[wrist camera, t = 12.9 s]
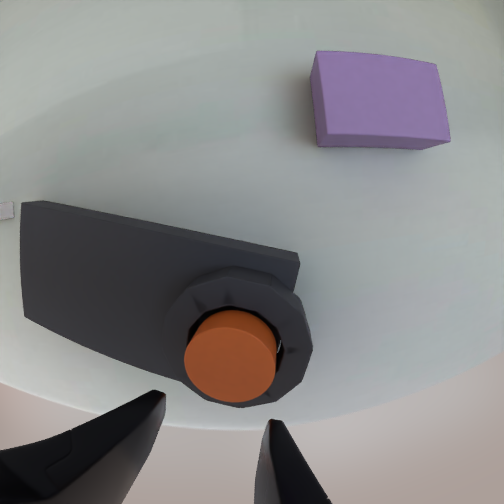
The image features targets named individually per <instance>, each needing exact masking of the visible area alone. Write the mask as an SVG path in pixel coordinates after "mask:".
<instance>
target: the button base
mask: <svg viewBox="0 0 504 504" xmlns="http://www.w3.org/2000/svg"><path fill="white" fill-rule="evenodd" d="M299 267H300V261H299V257H298V253H295V252H290V251H286V250H281V249H276V248H272V247H267V246H263V245H258V244H253V243H248V242H244V241H239V240H234V239H230V238H225V237H220V236H215V235H211V234H206V233H201V232H196V231H191V230H187V229H182V228H177V227H172V226H167V225H162V224H158V223H153V222H148V221H143V220H138V219H133V218H128V217H123V216H118V215H113V214H108V213H103V212H98V211H93V210H88V209H83V208H78V207H73V206H68V205H63V204H58V203H53V202H48V201H33V202H23V203H21V220H20V270H21V287H22V299H23V308H24V316H25V317H26V318H28V319H30V320H31V321H33V322H35V323H37V324H39V325H41V326H43V327H45V328H47V329H49V330H51V331H53V332H55V333H57V334H59V335H61V336H63V337H65V338H67V339H69V340H71V341H73V342H76V343H78V344H80V345H82V346H85V347H87V348H89V349H92V350H94V351H96V352H99V353H101V354H104V355H106V356H108V357H111V358H114V359H116V360H119V361H121V362H124V363H127V364H129V365H132V366H135V367H138V368H140V369H143V370H146V371H149V372H152V373H155V374H158V375H161V376H164V377H168V378H171V379H174V380H177V381H181V382H182V383H183V384H185V385H186V386H187V387H188V388H190V389H191V390H192V391H194V392H195V393H197V394H198V395H199V396H201V397H202V398H203V399H206V400H207V401H211V402H215V403H219V404H223V405H228V406H232V407H236V408H240V407H241V408H245V407H251V406H256V405H262V404H267V403H272V402H276V401H277V400H279V399H280V398H281V397H283V396H284V395H285V394H286V393H288V392H289V391H290V390H292V389H293V388H294V387H295V386H297V385H298V384H299V383H300V382H301V381H302V379H303V377H304V374H305V371H306V368H307V366H308V363H309V360H310V357H311V354H312V351H313V345H312V339H311V334H310V329H309V326H308V322H307V319H306V316H305V312H304V309H303V306H302V302H301V300H300V298H299V297H298V296H297V295H295V294H294V293H293V291H294V287H295V283H296V279H297V275H298V271H299ZM225 310H238V311H244V312H247V313H250V314H252V315H254V316H256V317H258V318H259V319H261V320H262V321H263V322H264V323H265V324H266V325H267V326H268V327H269V328H270V330H271V331H272V333H273V335H274V337H275V341H276V368H275V376H274V379H273V382H272V384H271V385H270V387H269V388H268V389H267V390H266V391H265V392H264V393H263V394H261V395H260V396H258V397H256V398H254V399H252V400H249V401H244V402H226V401H221V400H218V399H215V398H212V397H210V396H208V395H206V394H205V393H203V392H202V391H201V390H199V389H198V388H197V387H196V386H195V385H194V384H193V382H192V381H191V380H190V378H189V376H188V374H187V372H186V369H185V363H184V356H185V351H186V348H187V346H188V344H189V343H190V341H191V339H192V338H193V336H194V334H195V333H196V331H197V330H198V328H199V326H200V325H201V324H202V322H203V321H204V320H205V319H206V318H208V317H209V316H211V315H213V314H215V313H217V312H220V311H225ZM280 340H281V345H280V349H279V352H278V353H277V351H278V347H279V344H280Z"/></svg>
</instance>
